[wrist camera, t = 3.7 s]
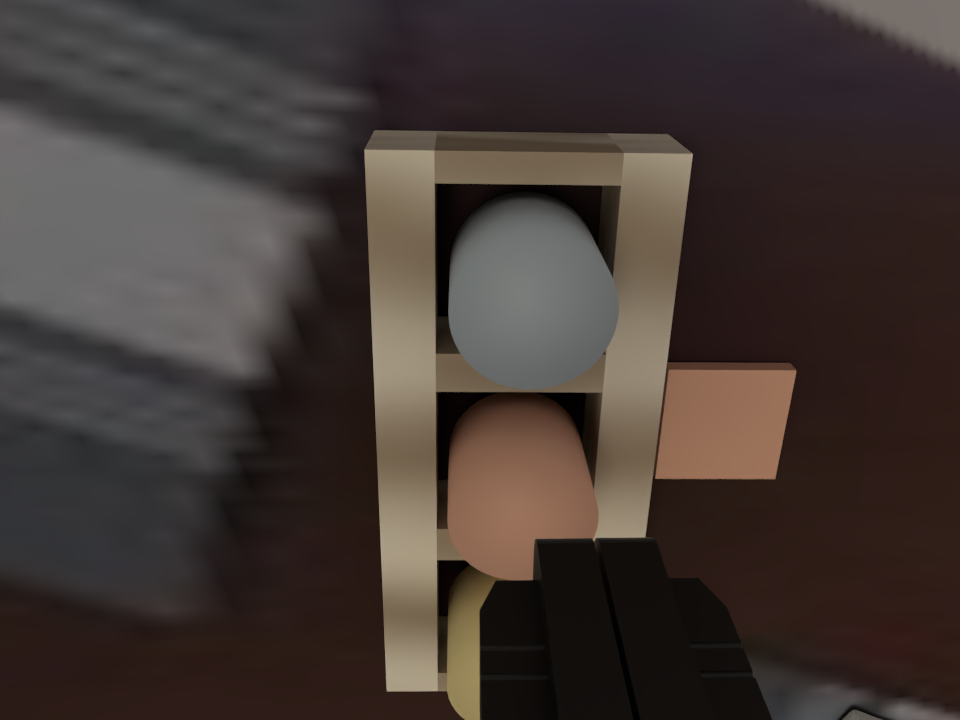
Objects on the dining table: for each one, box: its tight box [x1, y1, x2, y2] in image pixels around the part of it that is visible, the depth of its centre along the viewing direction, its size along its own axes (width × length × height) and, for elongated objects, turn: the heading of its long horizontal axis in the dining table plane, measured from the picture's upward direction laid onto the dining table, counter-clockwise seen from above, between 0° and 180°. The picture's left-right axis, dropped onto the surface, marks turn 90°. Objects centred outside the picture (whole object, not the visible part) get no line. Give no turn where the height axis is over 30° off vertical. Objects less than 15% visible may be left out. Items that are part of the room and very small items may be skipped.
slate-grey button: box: [448, 191, 619, 390], centre depth 23 cm, size 4×4×4 cm
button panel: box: [365, 130, 693, 691], centre depth 28 cm, size 20×9×3 cm, turn 179°
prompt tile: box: [653, 362, 797, 479], centre depth 30 cm, size 4×4×1 cm
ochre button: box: [447, 565, 506, 720], centre depth 29 cm, size 4×4×4 cm
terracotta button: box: [447, 392, 599, 580], centre depth 26 cm, size 4×4×4 cm
